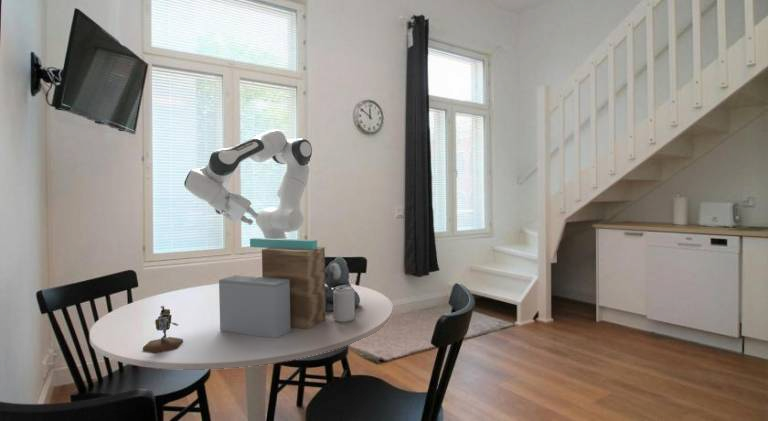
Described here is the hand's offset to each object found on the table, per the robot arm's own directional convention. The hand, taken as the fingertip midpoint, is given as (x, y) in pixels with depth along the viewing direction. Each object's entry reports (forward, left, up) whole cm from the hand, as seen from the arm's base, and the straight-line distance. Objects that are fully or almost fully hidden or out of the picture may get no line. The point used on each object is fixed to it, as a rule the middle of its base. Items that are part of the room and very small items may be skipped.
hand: (254, 220), depth 165 cm
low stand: (+25, +18, -35) cm, 46 cm away
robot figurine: (+46, +1, -35) cm, 58 cm away
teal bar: (+12, +21, -9) cm, 25 cm away
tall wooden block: (+12, +25, -35) cm, 45 cm away
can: (+5, +41, -35) cm, 54 cm away
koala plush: (-10, +31, -35) cm, 48 cm away
